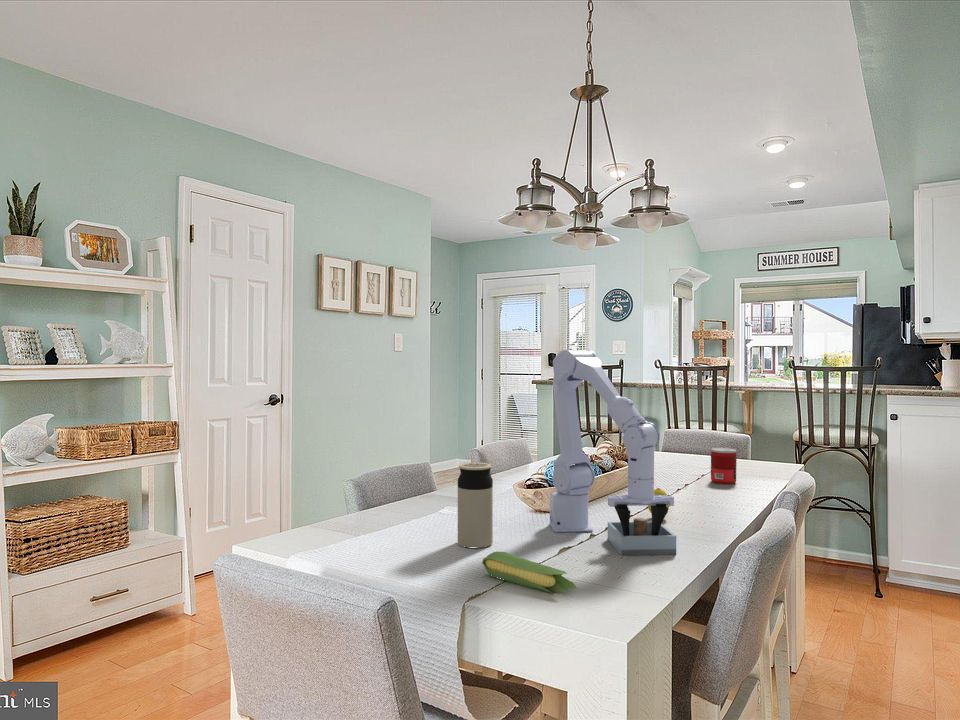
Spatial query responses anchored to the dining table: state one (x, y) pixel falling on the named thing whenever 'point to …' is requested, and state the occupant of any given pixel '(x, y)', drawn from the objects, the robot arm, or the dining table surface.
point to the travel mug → (475, 505)
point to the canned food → (723, 465)
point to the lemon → (658, 492)
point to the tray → (641, 540)
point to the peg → (640, 527)
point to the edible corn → (526, 572)
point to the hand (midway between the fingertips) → (640, 537)
